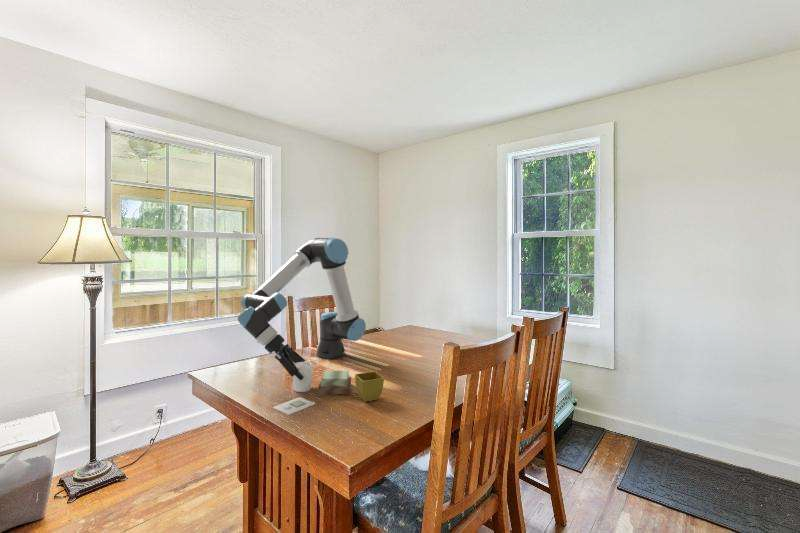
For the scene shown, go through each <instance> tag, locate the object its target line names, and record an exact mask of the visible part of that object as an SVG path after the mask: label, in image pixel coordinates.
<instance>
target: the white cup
mask: <svg viewBox="0 0 800 533" xmlns="http://www.w3.org/2000/svg"><path fill="white" fill-rule="evenodd" d="M294 364H295V366H296V367H297V369H298V370H301V371H302V372H303V373H304V374H305V375H306V376H307V377H308V378H309V379H310V380H311V383H310V384H309V385H308V386H305V385H304V384H303V383H302V382H301V381H300V380H299V379H298V378H297V377H296V376H295V375H294V376H293V377H292V379H293V380H292V381H293V383H292V384H293V391H294V392H297V393H305V392H309V391H311V389H312V384H313V383H312V382H313V376H312V373H313V372H314V371H313V370H314V363H313V362H310V361H305V362H298V363H294Z"/></svg>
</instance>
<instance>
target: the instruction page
mask: <svg viewBox="0 0 800 533" xmlns="http://www.w3.org/2000/svg"><path fill="white" fill-rule="evenodd" d="M315 405H316V402H314V401H310V400H308V399H305V398H302V397H301V396H299V397H296V398H293V399H291V400H288V401H285V402H282V403H280V404H278V405H275V406H273V407H271V409H274V410H276V411H278V412H280V413H283V414H285V415H287V416H291V415H292V414H295V413H298V412H299V411H302V410H304V409H306V408H310V407H312V406H315Z"/></svg>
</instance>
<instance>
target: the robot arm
mask: <svg viewBox="0 0 800 533" xmlns="http://www.w3.org/2000/svg"><path fill="white" fill-rule="evenodd" d="M348 255H349V249H348V245H347V243H346V242H345V241H344V240H342V239H340V238H336V237H315V238H311V239H310V240H308V241H307V242H306V243H304V244H303V245H302V246H300V247H299V248H298V249H296V250H295V251H294V253H293V256H292V257H291V258H289V259H288V261H287V262H285V264H283V265H282V266H280V268H279V269H278V270H277V271H276V272H275V273H274V274H272V275H271V276H270V277H269V278H268V279H267V280H266V281H265V282H264V283H262V284H261V286H259V287H258V288H257V289H256V290H255V291H254V292H253V293H247V294H244V296H243V297H242V298H241V302H240V305H241V307H242V308H243V309H244V310H243V311H242V312H241V313H240V314H239V315H237V316H238V317H237V321H238V323H239V324H240V325H241V326H242V328H244V329H245V331H247V332H248V333H249V334H250V335H251V336H252V337H253V338H254V339H255V340H256V342H257V344H260V345H261V346H263V347H264V349H265V350H266V351H267V352H268V353H269V354H272V353H275V354H276V355H274V358H275V359H276V360H277V361H278V362H279V363H280V364H281V366H282V367H283V368H284V369H285V370H286V371H287V373H288V374H289V376H290V377H291V378H293V376H294V375H295V376H296V377H297V378H298V379H299V380H300V381H301V382H302V383H303V384H304V385H305V386H308V385H309V384H310V383H311V380H310V379H309V378H308V377H307V376H306V375H305V374H304V373H303V372H302V371H301V370H298V369H297V367H296V366H295V363H298V362H306V359H305V358H303V357H302V356H301V355H300V353H299V354H298V352H297V351H295V350H294V349H293V348H292V347H291V346H290V345H289V344H288V343H286V344H284V342H285V338H284V337H283V336H282V335H281V334H279V333H278V331H277V330H276V329H275V328H274V327H273V326H272V325H271V324H270V321H271V320H273V319H274V318H275V317H276V316H277V315H279V314H280V313H281V312H282V311H283V310H284V309H285V308H286V307H287V306H288V301H287V299H286V297H285V296H284V295H283V294H282V293H280V292H281V291H283V289H284V288H286V286H287V285H288V284H290V283H291V282H292V281H293V280H294V278H295V277H297V275H299V274H300V273H301V272H302V270H304V269H305V268H309V267H310V266H311V265H312V264H315V263H319V262H320V264H321V268H322V270H324V271H326V274H327V277H328V278H327V279H328V283H329V287H330V290H331V293H332V294H331V295H332V298H333V301H334V306H335V309H336V311H331V312H329V311H327V312H323V313H322V314H321V315H320V320H319V321H320V322H319V324H320V326H319V331H320V332H319V341H318V346H317V349H316V351H315V355H316V356H317V357H318V358H320V359H328V360H329V359H331V360H332V359H339V358H342V356H343V357H345V355H346V350H345V346H344V344H343V339H344V340H347V341H350V342H351V341H353V342H356V341H359V340H361V338H363V336H364V334H365V332H366V328H367V325H366V321H365V320H364V319H363V318H362V317H361V318H360V315H359V312H358V311H357V310H356V309H355V307H354V303H353V299H352V296H351V291H350V286H349V282H348V278H347V275H346V271H345V265H346V264H347V262H346V261H347V259H348ZM315 374H316V373H315V372H314V371H313V373H312V377H313V376H314V375H315ZM311 384H312V383H311Z"/></svg>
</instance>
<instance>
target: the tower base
mask: <svg viewBox="0 0 800 533" xmlns="http://www.w3.org/2000/svg"><path fill="white" fill-rule="evenodd" d="M349 375H350V370H327V369H326V370H325V369H324V370H323V374H322V377H321V379H320V381H319V384H318V387H317V388H318V391H317V394H318V396H326V395H327V396H335V395H334V394H349V393H350V394H351V387H350V386H352V376H349ZM328 394H329V395H328ZM331 394H332V395H331ZM350 394H349V395H350Z"/></svg>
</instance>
